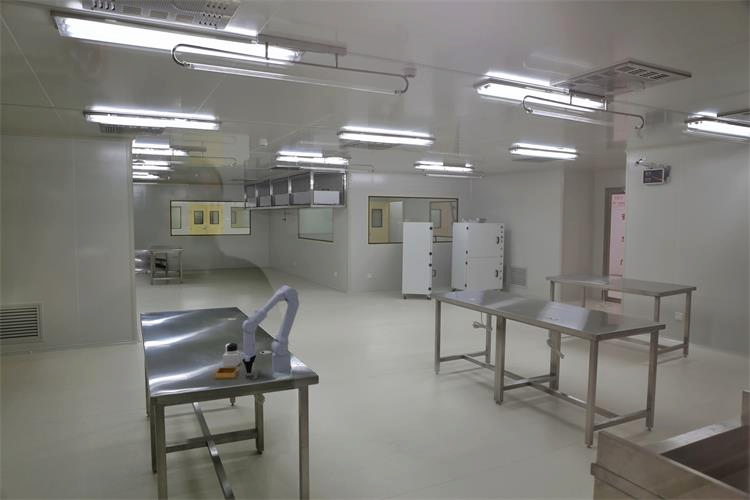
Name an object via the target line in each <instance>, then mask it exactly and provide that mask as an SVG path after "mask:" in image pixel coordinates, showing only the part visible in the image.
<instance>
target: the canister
mask: <svg viewBox="0 0 750 500" xmlns="http://www.w3.org/2000/svg"><path fill="white" fill-rule="evenodd" d="M254 367H255V361H254V362H253V365H252V372H251V373H247V372H246V376H252V375H254V370H255V368H254ZM244 371H246V368H245V367H244Z"/></svg>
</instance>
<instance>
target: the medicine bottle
mask: <svg viewBox="0 0 750 500" xmlns="http://www.w3.org/2000/svg"><path fill="white" fill-rule="evenodd" d="M224 348H225V352H224V354H222V366H223V367H239V364H240V363H241V361H240V360H241V352H240V351H239V350H238V344H237V343H235V342H230V343H226V344H225V347H224ZM223 367H222V368H223Z"/></svg>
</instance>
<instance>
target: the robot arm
mask: <svg viewBox="0 0 750 500" xmlns="http://www.w3.org/2000/svg"><path fill="white" fill-rule="evenodd" d="M299 301H300V300H299V293H298V291H297V289H295V288H294V287H291V286H289V285H287V284H284V285H282V286H281V287H280V288H279V289H277V291H276V292H275V293H274V294H273V296H272V297H271V298H269V300H268V301H267V302H266V303H265V305H263V307H262V308H259V307H258V309H255V310H254V312H253V313H252V314H251V316H248V317H247V319H245V320H244V321H243V322H242V325H241V328H242V330H243V333H242V334H243V336H242V338H243V339H242V342H243V346H242V347H243V348H242V349H243V352H240V356H243V357H244V358H242V363H243V364H244V369H245V368H246V372H247V373H251V372H252V365H253V362H254V363H255V360H256V358H257V352H256V332H257V329H258V326H259V325H260V324H261V323H262V322H263V321H264V320H265V319H266V318H267V317H268V312H269V311H271V310H272V309H273V308H274V307H275V306H276V305H277V304H278V303H279V302H286V304H287V307H286V311H285V313H284V316H283V319H282V321H281V325H280V328H279V331H278V334H277V335H276V336H275V338H274V340H272V342H271V344H270V349H271V351H272V354H271V361H272V363H271V364H272V365H271V366H272V367H271V368H272V370H271V371H272V372H273V373H285V372H286V373H287V372H288V373H290V372H291V370H292V363H291V360H292V359H291V354H289V353H288V351H289V336H290V333H291V330H292V327H293V325H294V321H295V318H296V315H297V313H298V309H299V306H300V302H299Z"/></svg>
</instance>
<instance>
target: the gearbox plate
mask: <svg viewBox="0 0 750 500" xmlns="http://www.w3.org/2000/svg"><path fill="white" fill-rule="evenodd" d="M260 371H261V370H260V369H257V370H255V369H254V375H252V376H246V371H245V370H239V366H228V367H218V368H217V369H216V371H215V372H214V379H213V381H227V380H230V381H231V380H235V381H236V380H256V379H257V378H258V376H259V373H260Z"/></svg>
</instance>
